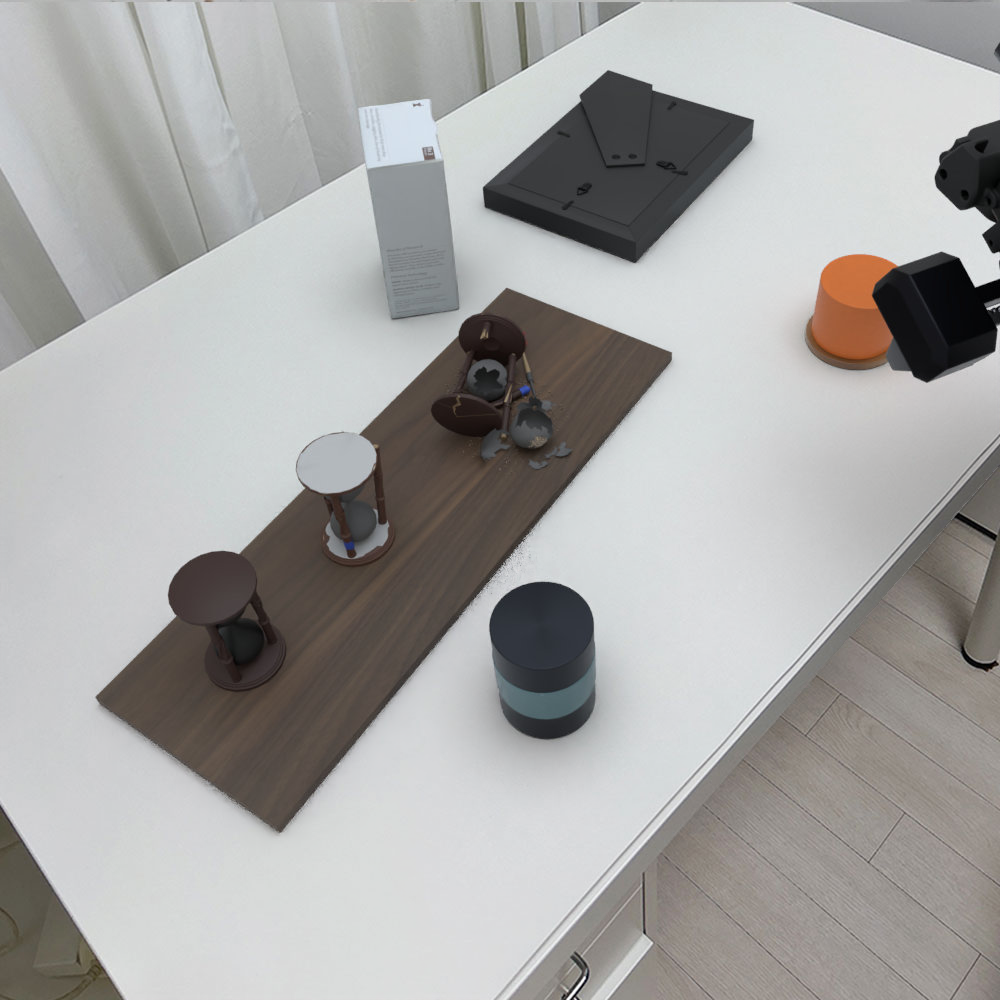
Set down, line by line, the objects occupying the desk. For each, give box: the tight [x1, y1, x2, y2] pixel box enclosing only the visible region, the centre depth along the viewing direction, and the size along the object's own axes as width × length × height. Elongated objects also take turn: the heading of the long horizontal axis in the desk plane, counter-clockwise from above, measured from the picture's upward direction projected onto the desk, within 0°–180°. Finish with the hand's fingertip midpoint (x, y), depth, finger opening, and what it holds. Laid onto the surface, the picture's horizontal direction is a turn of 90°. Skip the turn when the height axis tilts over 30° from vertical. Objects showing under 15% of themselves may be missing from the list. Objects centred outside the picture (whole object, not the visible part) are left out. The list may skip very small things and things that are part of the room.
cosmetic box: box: [357, 98, 460, 319], centre depth 87 cm, size 8×6×15 cm
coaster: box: [804, 313, 888, 371], centre depth 85 cm, size 7×7×1 cm
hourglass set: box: [94, 287, 673, 834], centre depth 74 cm, size 15×45×8 cm, turn 145°
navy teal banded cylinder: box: [488, 581, 597, 740], centre depth 64 cm, size 6×6×8 cm
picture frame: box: [482, 69, 755, 263], centre depth 100 cm, size 16×3×21 cm
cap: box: [811, 253, 899, 360], centre depth 82 cm, size 6×6×5 cm
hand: (949, 340), depth 69 cm, fingers open, 9 cm apart
